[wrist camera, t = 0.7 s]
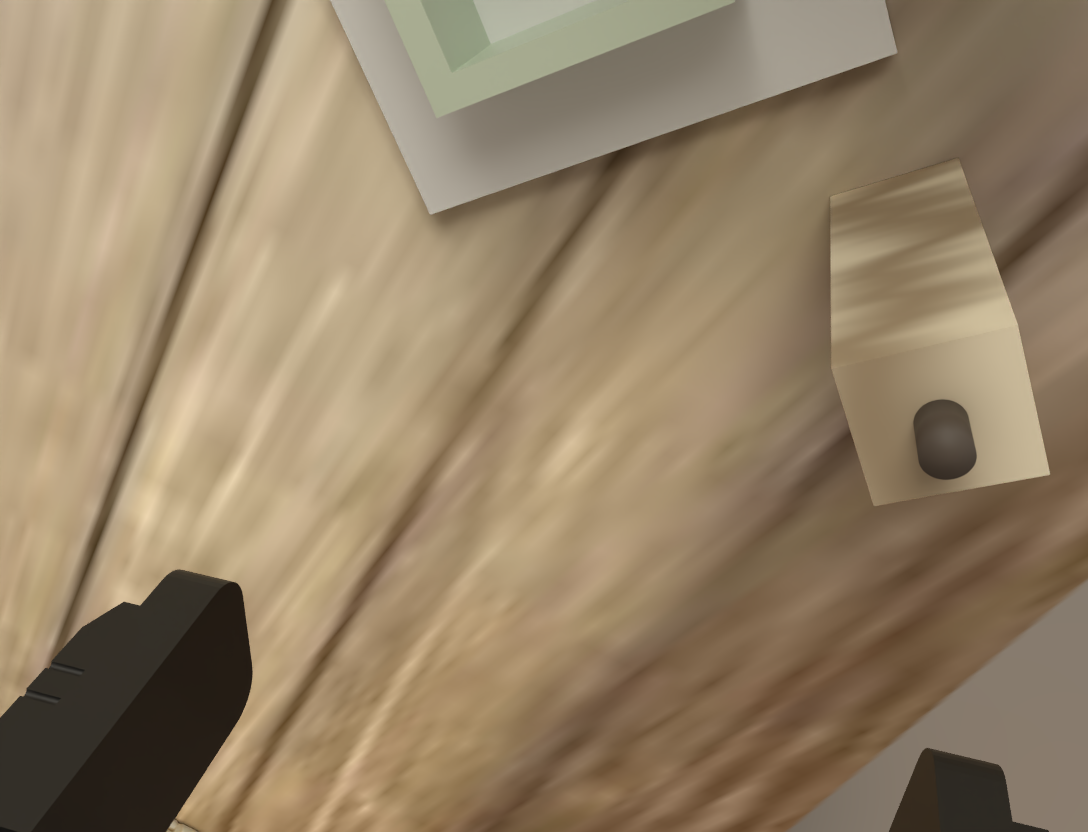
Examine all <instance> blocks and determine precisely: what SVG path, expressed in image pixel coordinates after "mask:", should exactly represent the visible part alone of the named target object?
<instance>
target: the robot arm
mask: <svg viewBox="0 0 1088 832" xmlns="http://www.w3.org/2000/svg"><path fill="white" fill-rule="evenodd" d="M51 662H52V663H51V666H50V668H49V669H48V668H45V669H44V670H43V671H42V672H41V673H40V674H39V676H38V677H37V678H36V679H35V680H34V681H33V682H32V683H31V684H30V686H29V687H28V688H27V691H26V694H25V695H24V696H23V697H22V696H20V697H19V698H18V699H17V700H16V701H15V702H14V703H13V704H12V705H11V707H10V708H9V709H8V710H7V711H6V712H5V713H4V714H3V715H2V717H1V718H0V832H166V831H167V830H168V828H169V827H170V825H171V824H172V822H173V820H174V819H175V817H176V816H177V814H178V813H179V811H180V810H181V808H182V807H183V805H184V803H185V802H186V800H187V799H188V797H189V796H190V794H191V793H192V791H193V790H194V788H195V787H196V785H197V783H198V782H199V780H200V779H201V777H202V776H203V774H204V773H205V771H206V770H207V768H208V766H209V765H210V763H211V762H212V760H213V759H214V757H215V756H216V754H217V753H218V751H219V750H220V748H221V746H222V745H223V743H224V742H225V740H226V739H227V737H228V736H229V734H230V733H231V731H232V729H233V728H234V726H235V725H236V723H237V722H238V720H239V718H240V716H241V714H242V712H243V710H244V708H245V705H246V703H247V700H248V696H249V693H250V689H251V684H252V672H253V671H252V661H251V654H250V646H249V639H248V631H247V624H246V616H245V609H244V601H243V594H242V590H241V588H240V586H239V585H238V584H237V583H235V582H231V581H227V580H223V579H219V578H214V577H210V576H206V575H202V574H197V573H193V572H189V571H185V570H175V571H172V572H171V573H169V574H168V575H167V576H166V577H165V578H164V579H163V580H162V581H161V582H160V583H159V584H158V586H157V587H156V588H155V589H154V590H153V591H152V593H151V594H150V595H149V596H148V597H147V598H146V600H145V601H144V602H143V603H142V604H141V605H140V606H139V605H135V604H131V603H127V602H123V603H121V604H120V605H118V606H116V607H115V608H113V609H111V610H110V611H108V612H106V613H105V614H103V615H102V616H100V617H98V618H97V619H95V620H93V621H92V622H90V623H89V624H87V625H85V626H84V627H82V628H81V629H80V630H79V631H78V632H77V634H76V635H75V636H74V637H73V638H72V639H71V640H70V641H69V642H68V644H67V645H66V646H65V647H64V648H63V649H62V650H61V651H60V652H59V653H58V655H57V656H56V657H55V658H54V659H53V660H52V661H51ZM889 832H1049V831H1048V830H1045V829H1041V828H1036V827H1032V826H1029V825H1024V824H1020V823H1016V822H1012V816H1011V810H1010V803H1009V798H1008V791H1007V785H1006V779H1005V775H1004V772H1003V770H1002V768H1001V767H1000V766H999V765H997V764H993V763H989V762H985V761H981V760H976V759H972V758H968V757H964V756H959V755H955V754H951V753H947V752H942V751H938V750H934V749H930V748H926V749H924V750H923V752H922V753H921V755H920V757H919V759H918V762H917V764H916V766H915V769H914V771H913V774H912V776H911V779H910V781H909V784H908V786H907V789H906V791H905V793H904V796H903V798H902V801H901V803H900V806H899V808H898V810H897V813H896V815H895V818H894V820H893V823H892V825H891V828H890V830H889Z"/></svg>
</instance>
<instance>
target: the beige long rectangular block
mask: <svg viewBox="0 0 1088 832" xmlns="http://www.w3.org/2000/svg"><path fill="white" fill-rule="evenodd" d="M830 239H831V370H832V373H833V376H834V379H835V382H836V386H837V389H838V392H839V395H840V399H841V402H842V405H843V408H844V412H845V415H846V418H847V421H848V425H849V428H850V431H851V434H852V437H853V441H854V444H855V447H856V450H857V454H858V457H859V460H860V463H861V467H862V470H863V473H864V476H865V479H866V483H867V486H868V489H869V492H870V496H871V499H872V502H873V505H874V506H879V505H884V504H890V503H895V502H901V501H907V500H912V499H918V498H923V497H929V496H934V495H940V494H945V493H951V492H957V491H962V490H968V489H973V488H979V487H984V486H990V485H995V484H1001V483H1007V482H1012V481H1018V480H1023V479H1029V478H1034V477H1040V476H1045V475H1050V472H1049V467H1048V462H1047V458H1046V453H1045V449H1044V444H1043V439H1042V435H1041V430H1040V425H1039V421H1038V416H1037V412H1036V407H1035V402H1034V398H1033V393H1032V388H1031V384H1030V379H1029V375H1028V370H1027V365H1026V361H1025V356H1024V351H1023V347H1022V342H1021V338H1020V333H1019V328H1018V324H1017V321H1016V319H1015V316H1014V313H1013V310H1012V307H1011V304H1010V302H1009V299H1008V296H1007V293H1006V290H1005V288H1004V285H1003V282H1002V279H1001V276H1000V274H999V271H998V268H997V265H996V262H995V259H994V257H993V254H992V251H991V248H990V245H989V243H988V240H987V237H986V234H985V231H984V229H983V226H982V223H981V220H980V217H979V214H978V212H977V209H976V206H975V203H974V200H973V198H972V195H971V192H970V189H969V186H968V184H967V181H966V178H965V175H964V172H963V169H962V167H961V164H960V161H959V158H956V159H953V160H949V161H946V162H943V163H939V164H936V165H933V166H929V167H926V168H923V169H919V170H916V171H913V172H910V173H906V174H903V175H900V176H896V177H893V178H890V179H886V180H883V181H880V182H876V183H873V184H870V185H866V186H863V187H860V188H856V189H853V190H850V191H846V192H843V193H840V194H836V195H833V196H830Z"/></svg>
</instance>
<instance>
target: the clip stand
mask: <svg viewBox="0 0 1088 832" xmlns="http://www.w3.org/2000/svg"><path fill="white" fill-rule="evenodd" d="M330 1H331V3H332V5H333V7H334V9H335V11H336V14H337V16H338V18H339V20H340V22H341V24H342V26H343V29H344V31H345V33H346V35H347V37H348V39H349V41H350V44H351V46H352V48H353V50H354V52H355V54H356V57H357V59H358V61H359V63H360V65H361V67H362V69H363V72H364V74H365V76H366V78H367V80H368V82H369V84H370V87H371V89H372V91H373V93H374V95H375V97H376V99H377V102H378V104H379V106H380V108H381V110H382V112H383V114H384V117H385V119H386V121H387V123H388V125H389V127H390V130H391V132H392V134H393V136H394V138H395V140H396V142H397V145H398V147H399V149H400V151H401V153H402V155H403V157H404V160H405V162H406V164H407V166H408V168H409V170H410V172H411V175H412V177H413V179H414V181H415V183H416V185H417V188H418V190H419V192H420V194H421V196H422V198H423V200H424V203H425V205H426V207H427V209H428V211H429V213H430V215H431V214H434V213H437V212H440V211H443V210H446V209H449V208H452V207H454V206H457V205H460V204H463V203H466V202H469V201H472V200H475V199H478V198H480V197H483V196H486V195H489V194H492V193H495V192H498V191H501V190H504V189H506V188H509V187H512V186H515V185H518V184H521V183H524V182H527V181H530V180H532V179H535V178H538V177H541V176H544V175H547V174H550V173H553V172H556V171H558V170H561V169H564V168H567V167H570V166H573V165H576V164H579V163H582V162H584V161H587V160H590V159H593V158H596V157H599V156H602V155H605V154H608V153H610V152H613V151H616V150H619V149H622V148H625V147H628V146H631V145H634V144H636V143H639V142H642V141H645V140H648V139H651V138H654V137H657V136H660V135H662V134H665V133H668V132H671V131H674V130H677V129H680V128H683V127H686V126H688V125H691V124H694V123H697V122H700V121H703V120H706V119H709V118H712V117H714V116H717V115H720V114H723V113H726V112H729V111H732V110H735V109H738V108H740V107H743V106H746V105H749V104H752V103H755V102H758V101H761V100H764V99H766V98H769V97H772V96H775V95H778V94H781V93H784V92H787V91H790V90H792V89H795V88H798V87H801V86H804V85H807V84H810V83H813V82H816V81H818V80H821V79H824V78H827V77H830V76H833V75H836V74H839V73H842V72H844V71H847V70H850V69H853V68H856V67H859V66H862V65H865V64H868V63H870V62H873V61H876V60H879V59H882V58H885V57H888V56H891V55H893V54H896V53H897V49H896V44H895V40H894V36H893V32H892V28H891V24H890V20H889V16H888V11H887V7H886V3H885V0H330Z"/></svg>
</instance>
